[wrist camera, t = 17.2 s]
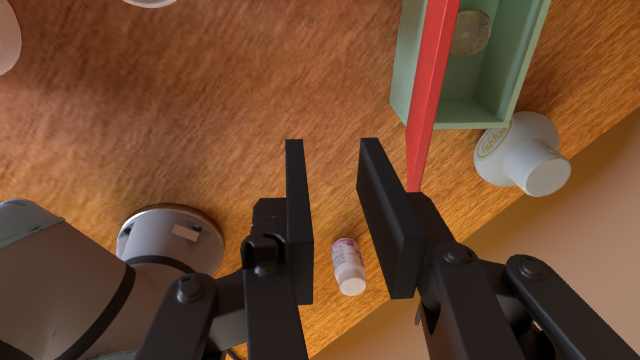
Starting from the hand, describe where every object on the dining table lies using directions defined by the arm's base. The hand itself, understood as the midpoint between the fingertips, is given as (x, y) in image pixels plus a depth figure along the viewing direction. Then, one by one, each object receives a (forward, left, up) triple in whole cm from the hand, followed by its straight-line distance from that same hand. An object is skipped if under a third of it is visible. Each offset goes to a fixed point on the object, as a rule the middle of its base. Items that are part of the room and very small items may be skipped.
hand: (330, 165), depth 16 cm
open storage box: (0, -17, -29) cm, 33 cm away
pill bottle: (-33, -7, -29) cm, 44 cm away
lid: (0, -10, -14) cm, 17 cm away
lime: (+1, -20, -26) cm, 33 cm away
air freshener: (-14, -29, -29) cm, 43 cm away
